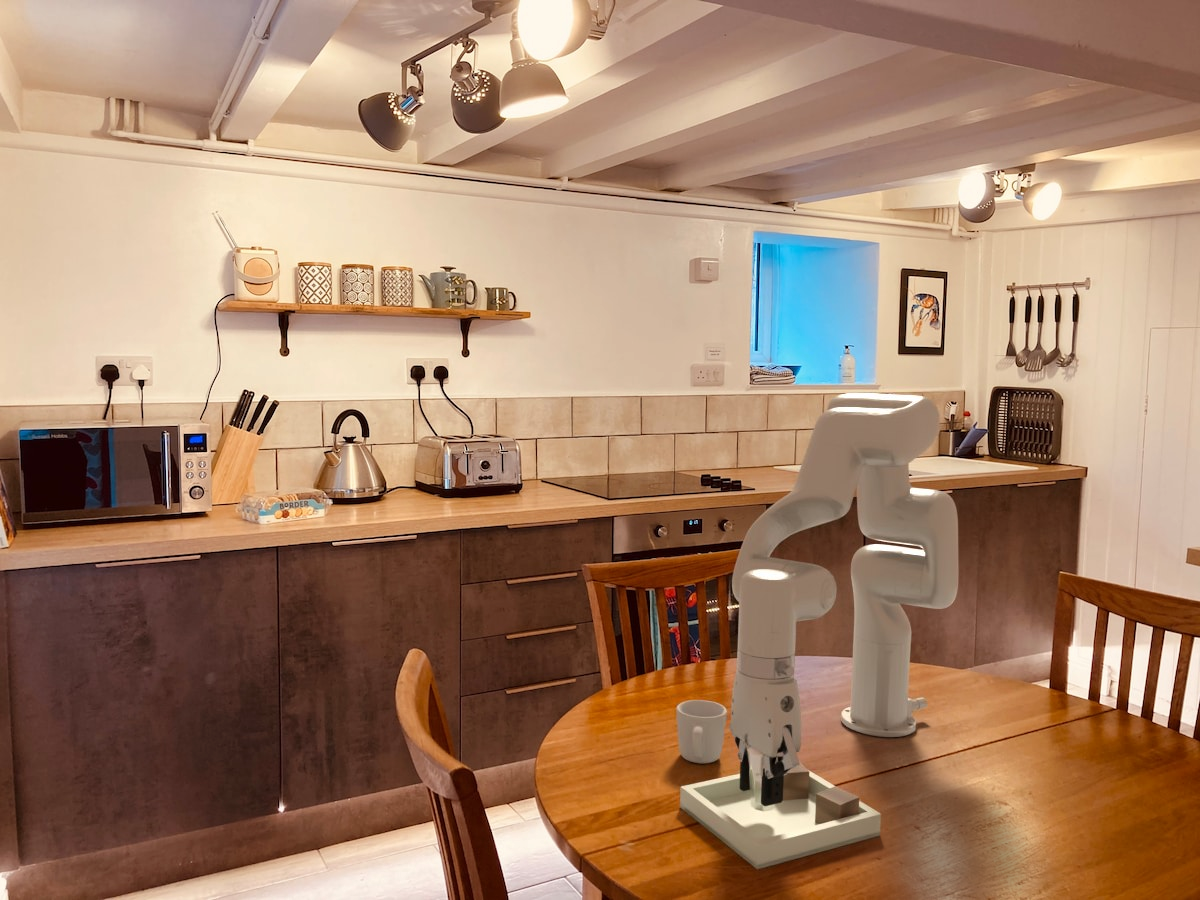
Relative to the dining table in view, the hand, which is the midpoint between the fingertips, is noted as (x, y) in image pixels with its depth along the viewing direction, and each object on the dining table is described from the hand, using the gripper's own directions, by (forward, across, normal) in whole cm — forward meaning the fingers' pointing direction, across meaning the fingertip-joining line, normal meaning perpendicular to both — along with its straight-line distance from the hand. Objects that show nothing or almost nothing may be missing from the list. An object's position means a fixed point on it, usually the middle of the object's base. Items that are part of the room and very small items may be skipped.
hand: (760, 794), depth 127 cm
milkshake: (+2, 0, 0) cm, 2 cm away
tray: (+4, 0, -3) cm, 5 cm away
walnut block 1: (+4, +5, -9) cm, 11 cm away
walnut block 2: (+4, -5, -9) cm, 11 cm away
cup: (+4, +21, -4) cm, 22 cm away
